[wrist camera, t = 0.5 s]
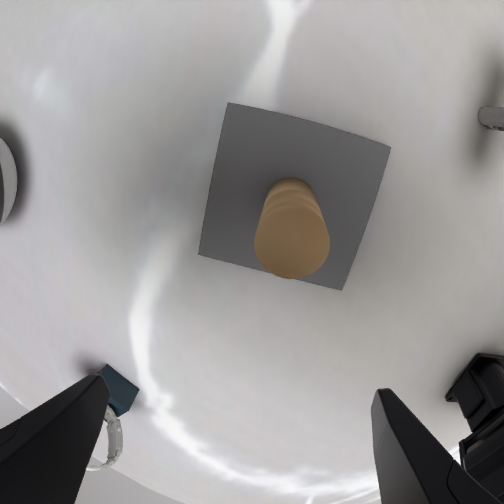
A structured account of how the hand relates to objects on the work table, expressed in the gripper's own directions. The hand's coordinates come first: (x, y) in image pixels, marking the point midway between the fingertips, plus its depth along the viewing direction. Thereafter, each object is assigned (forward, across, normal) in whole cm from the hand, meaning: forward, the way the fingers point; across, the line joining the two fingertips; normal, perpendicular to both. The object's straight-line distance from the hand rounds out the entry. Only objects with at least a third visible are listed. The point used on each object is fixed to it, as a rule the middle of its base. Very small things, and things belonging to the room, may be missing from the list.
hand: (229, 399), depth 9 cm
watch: (+14, +18, +16) cm, 28 cm away
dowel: (+12, -2, -3) cm, 13 cm away
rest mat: (+13, -2, -3) cm, 14 cm away
